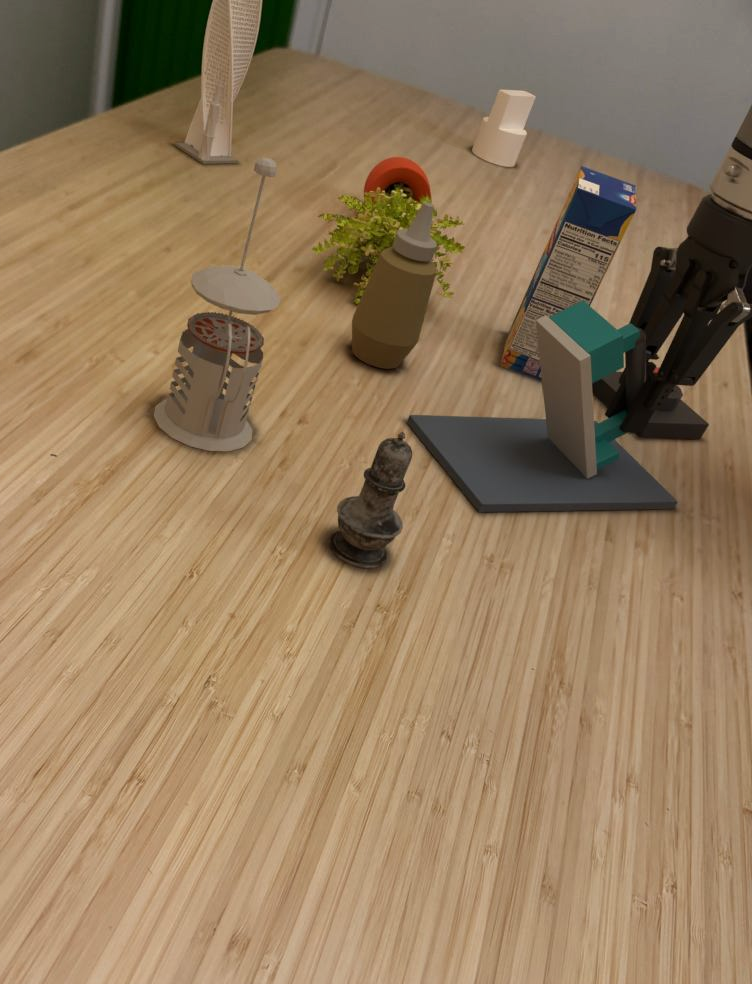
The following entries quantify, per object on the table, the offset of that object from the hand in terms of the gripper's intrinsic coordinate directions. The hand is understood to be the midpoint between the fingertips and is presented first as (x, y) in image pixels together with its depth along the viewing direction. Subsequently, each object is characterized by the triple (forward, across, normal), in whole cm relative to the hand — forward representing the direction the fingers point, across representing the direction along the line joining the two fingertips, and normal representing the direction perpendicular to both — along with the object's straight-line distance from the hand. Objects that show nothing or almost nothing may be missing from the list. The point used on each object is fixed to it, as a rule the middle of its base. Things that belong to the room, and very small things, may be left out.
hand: (623, 423), depth 112 cm
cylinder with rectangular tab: (+5, -107, +51) cm, 118 cm away
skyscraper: (+6, -85, -18) cm, 87 cm away
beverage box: (+6, -24, +6) cm, 25 cm away
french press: (+6, -6, -45) cm, 46 cm away
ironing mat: (+6, 0, -8) cm, 10 cm away
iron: (-2, 0, -10) cm, 10 cm away
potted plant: (+6, -52, -4) cm, 52 cm away
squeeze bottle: (+6, -22, -18) cm, 29 cm away
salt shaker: (+6, +13, -37) cm, 40 cm away
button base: (+5, -12, +16) cm, 20 cm away
